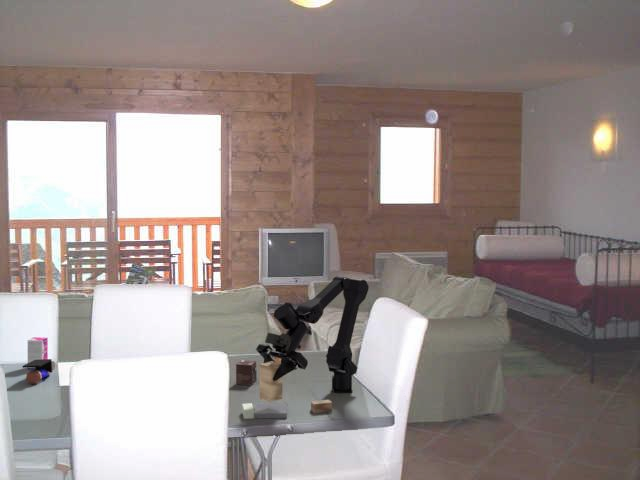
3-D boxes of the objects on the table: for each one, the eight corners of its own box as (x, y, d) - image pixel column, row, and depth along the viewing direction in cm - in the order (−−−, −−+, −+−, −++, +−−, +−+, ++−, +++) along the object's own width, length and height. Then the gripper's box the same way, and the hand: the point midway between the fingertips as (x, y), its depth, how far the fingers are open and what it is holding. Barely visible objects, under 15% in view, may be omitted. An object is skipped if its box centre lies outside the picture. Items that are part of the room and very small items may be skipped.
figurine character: (37, 378, 262) (21, 385, 247) (37, 357, 262) (21, 363, 247) (55, 378, 262) (40, 385, 247) (56, 357, 262) (41, 363, 247)
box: (251, 385, 248) (251, 365, 248) (235, 384, 250) (235, 364, 249) (256, 380, 254) (256, 361, 254) (241, 379, 256) (240, 360, 255)
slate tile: (287, 407, 224) (287, 403, 223) (286, 418, 214) (286, 413, 213) (255, 407, 223) (255, 403, 223) (253, 418, 213) (253, 413, 213)
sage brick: (242, 413, 219) (242, 403, 218) (251, 412, 219) (251, 403, 219) (244, 419, 213) (244, 409, 213) (254, 418, 213) (253, 409, 213)
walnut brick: (329, 408, 223) (329, 399, 223) (332, 411, 220) (332, 402, 220) (311, 410, 222) (311, 401, 221) (313, 413, 219) (313, 404, 218)
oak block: (271, 395, 222) (271, 361, 221) (282, 398, 218) (282, 363, 217) (259, 398, 218) (259, 364, 217) (270, 402, 215) (270, 366, 214)
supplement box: (42, 369, 268) (41, 340, 267) (27, 369, 268) (26, 340, 267) (48, 365, 274) (47, 337, 273) (33, 365, 274) (32, 336, 273)
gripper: (260, 318, 225) (233, 358, 218) (301, 327, 213) (275, 369, 206) (277, 339, 232) (253, 378, 225) (319, 348, 219) (294, 390, 212)
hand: (267, 378), depth 217 cm, fingers closed on oak block, 5 cm apart
